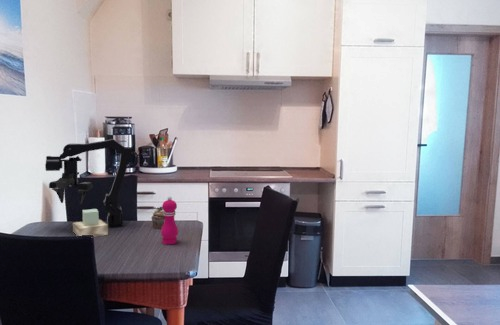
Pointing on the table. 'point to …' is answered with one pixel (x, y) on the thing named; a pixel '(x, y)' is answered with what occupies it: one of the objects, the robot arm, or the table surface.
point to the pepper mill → (169, 222)
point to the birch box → (90, 229)
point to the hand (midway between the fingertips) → (71, 203)
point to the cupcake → (158, 218)
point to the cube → (90, 217)
